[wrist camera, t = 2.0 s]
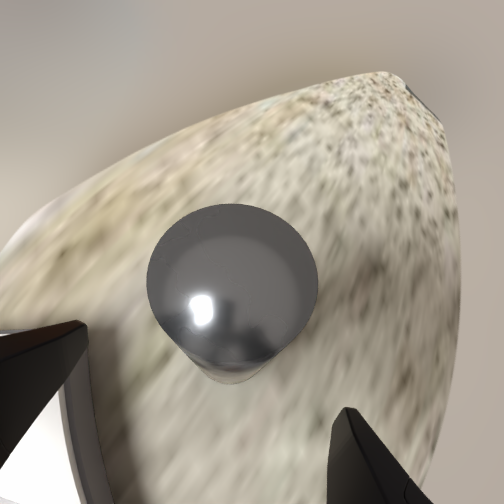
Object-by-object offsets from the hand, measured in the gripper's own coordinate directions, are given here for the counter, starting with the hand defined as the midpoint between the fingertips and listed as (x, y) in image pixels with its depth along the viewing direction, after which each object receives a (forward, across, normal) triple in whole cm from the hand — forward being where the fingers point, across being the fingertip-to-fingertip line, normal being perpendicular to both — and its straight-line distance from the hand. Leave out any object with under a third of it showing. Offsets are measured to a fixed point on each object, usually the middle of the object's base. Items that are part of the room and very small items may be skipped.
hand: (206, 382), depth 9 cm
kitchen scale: (0, +12, +14) cm, 18 cm away
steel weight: (+9, 0, +5) cm, 10 cm away
